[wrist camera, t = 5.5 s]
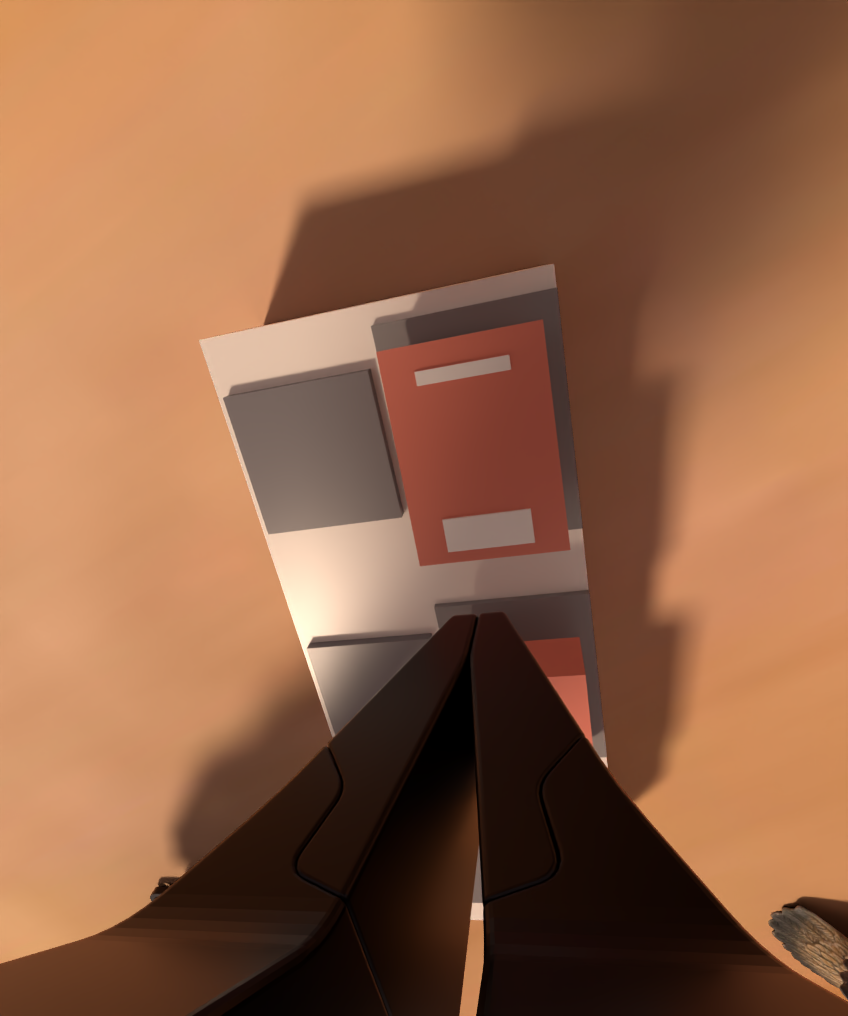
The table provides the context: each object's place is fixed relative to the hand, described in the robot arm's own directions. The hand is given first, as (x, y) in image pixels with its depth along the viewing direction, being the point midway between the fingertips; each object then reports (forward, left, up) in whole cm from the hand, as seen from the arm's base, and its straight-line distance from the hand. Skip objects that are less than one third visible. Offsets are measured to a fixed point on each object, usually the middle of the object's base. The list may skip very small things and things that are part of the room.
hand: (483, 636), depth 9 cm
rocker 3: (+2, 0, -5) cm, 5 cm away
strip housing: (-9, +2, -10) cm, 14 cm away
